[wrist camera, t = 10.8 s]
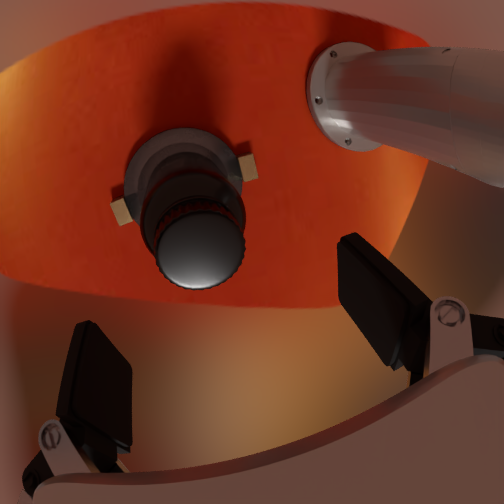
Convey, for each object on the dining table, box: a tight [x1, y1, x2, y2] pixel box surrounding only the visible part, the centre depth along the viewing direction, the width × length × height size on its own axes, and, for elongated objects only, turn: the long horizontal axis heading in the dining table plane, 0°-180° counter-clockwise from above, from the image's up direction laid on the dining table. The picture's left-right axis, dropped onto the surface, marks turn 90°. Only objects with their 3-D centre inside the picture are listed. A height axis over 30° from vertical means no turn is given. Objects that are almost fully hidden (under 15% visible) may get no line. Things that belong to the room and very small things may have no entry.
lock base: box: [110, 128, 258, 226], centre depth 24 cm, size 14×11×1 cm
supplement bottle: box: [140, 152, 246, 290], centre depth 18 cm, size 7×7×12 cm
